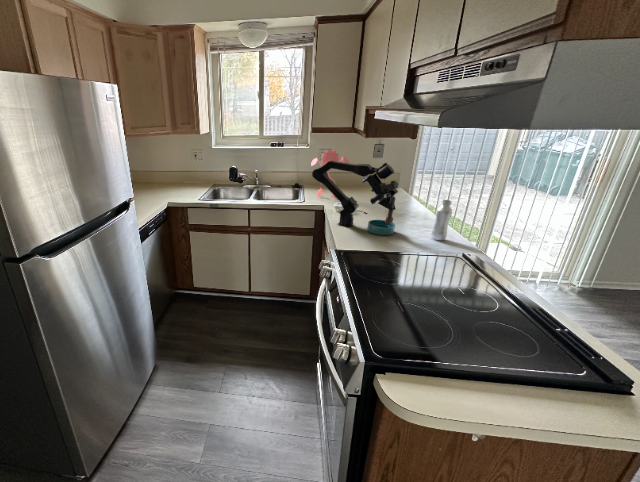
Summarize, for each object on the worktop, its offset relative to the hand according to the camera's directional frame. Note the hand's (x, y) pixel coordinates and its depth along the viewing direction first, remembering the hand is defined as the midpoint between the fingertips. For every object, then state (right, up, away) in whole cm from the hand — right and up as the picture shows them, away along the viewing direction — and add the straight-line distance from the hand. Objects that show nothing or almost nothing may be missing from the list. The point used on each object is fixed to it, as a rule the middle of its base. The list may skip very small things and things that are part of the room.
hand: (393, 210), depth 162 cm
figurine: (-15, +14, +72) cm, 75 cm away
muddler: (-1, -7, +4) cm, 8 cm away
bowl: (-3, -11, +9) cm, 14 cm away
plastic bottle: (+21, -15, -2) cm, 26 cm away
